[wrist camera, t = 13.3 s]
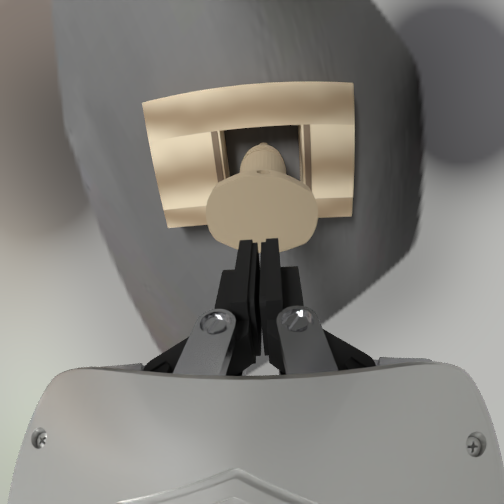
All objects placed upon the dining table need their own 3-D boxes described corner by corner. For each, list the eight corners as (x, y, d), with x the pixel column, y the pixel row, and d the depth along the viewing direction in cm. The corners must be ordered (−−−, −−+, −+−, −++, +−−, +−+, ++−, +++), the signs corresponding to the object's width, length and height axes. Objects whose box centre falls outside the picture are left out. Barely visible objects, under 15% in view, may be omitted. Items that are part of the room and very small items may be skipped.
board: (153, 100, 25) (141, 102, 23) (344, 83, 24) (353, 82, 21) (175, 216, 33) (167, 228, 30) (344, 205, 31) (351, 216, 28)
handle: (292, 178, 30) (312, 254, 17) (233, 176, 30) (208, 251, 17) (294, 135, 27) (322, 179, 14) (232, 133, 27) (203, 175, 15)
